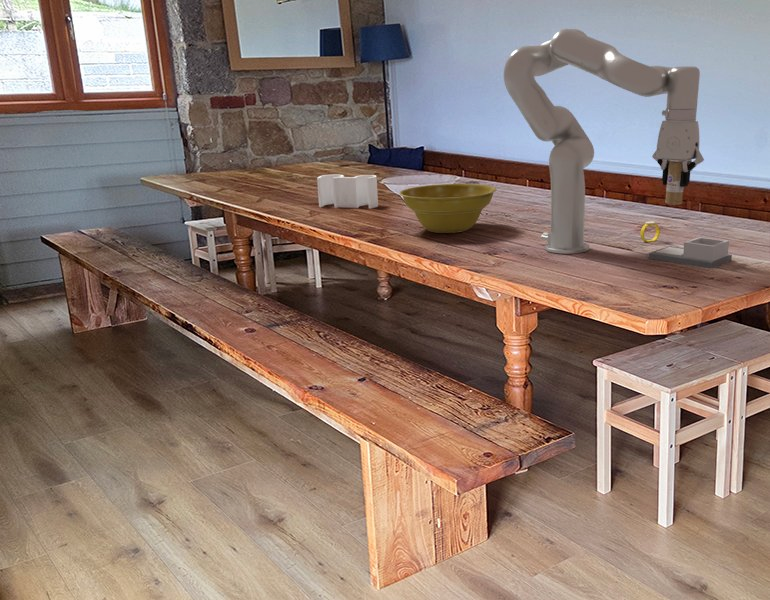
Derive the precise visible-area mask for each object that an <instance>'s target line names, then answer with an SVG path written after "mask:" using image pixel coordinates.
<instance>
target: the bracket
mask: <svg viewBox="0 0 770 600" xmlns="http://www.w3.org/2000/svg"><path fill="white" fill-rule="evenodd" d="M316 181H317V182H316V183H317V195H318V207H319V208H323V207H324V206H327V205H333V206H334V209H338V208H350V209H351V208H352V209H353V208H354V209H358V208H359V207H361V206H368V209H374V208H377V207H379V197H378V196H379V195H378V177H377V175H375V174H361V175H356V176H345V175H343V174H337V173H336V174H323V175H319V176H318V177H317V178H316Z"/></svg>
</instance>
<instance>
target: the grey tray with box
mask: <svg viewBox="0 0 770 600" xmlns="http://www.w3.org/2000/svg"><path fill="white" fill-rule="evenodd" d="M729 244H730V241H729V240H726V239H719V238H717V239H716V238H711V237H702V236H699V237H696V238H693V239H690V240H687V241H684V242H683V247H679V246H672V245H668V246H665V247H663V248H660V249H657V250H654V251H651V252H648V258H647V259H650V260H655V261H661V262H667V263H668V262H669V263H675V264H681V265H687V266H694V267H699V268H707V269H714V268H715V267H718V266H720V265H723V264H726V263H728V262H731V261H732V259H733V258H732V257H733V255H732V254H730V253H729Z"/></svg>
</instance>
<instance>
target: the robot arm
mask: <svg viewBox="0 0 770 600" xmlns="http://www.w3.org/2000/svg"><path fill="white" fill-rule="evenodd" d="M568 65H570V66H572V67H574V68H577V69H578V70H579V69H580V70H582V71H584V72H586V73H589V74H591V75H593V76H596V77H598V78H600V79H602V80H603V81H606V82H608V83H610V84H612V85H614V86H616V87H618V88H619V89H620V88H621V89H623V90H626V91H627V92H630V93H632V94H635V95H638V96H641V97H645V98H647V97H648V98H650V97H653V96H659V95H665V94H666V95H667V97H666V107H665V110H662V111H661V116H664V118H665V120H662V122H661V124H660V126H659V127H660V128H659V132H658V136H657V143H656V149H655V152H654V153H653V154H652V159H653V160H655V162H657V164H658V165H659V166H660V169H661V171H662V176H661V177H662V178H661V180H662V186H667V179H668V168H669V160H681V161H682V164H683V172H681V179H680V186H681V187H684V188H685V187H688V186H689V184H690V179H691V171H693V170H694V169H695V168H696V167H697V166H698V165H700V164H701V163H703V162H704V161H705V159H704V157H703V155H702V153H701V151H700V126H699V122H698V120H697V110H698V109H697V108H698V99H699V87H700V77H701V73H700V69H699V68H698V67H696V66H675V67H670V66H661V65H652V66H651V65H650V66H649V65H647V64H644V63H642V62H640V61H636V60H635V59H632V58H630V57H628V56H625V55H623V54H622V53H620V52H619V50H617V48H616V47H614V46H613V45H611V44H609V43H606V42H604V41H600V40H598V39H596V38H593V37H591V36H589V35H587V34H586V33H585V32H584V31H582V30H580V29H577V28H564V29H560V30H558V31H557V32H556V33H555V34H554V35H553V36H552V38H551V40H548V41H545V42H543V43H541V44H538V45H525V46H521V47H518V48H517V49H515V50H513V51H512V52H511V54H509V56H508V57H507V60H506V62H505V65H504V69H503V82H504V85H505V88H506V90H507V93H508V95H509V96H510V97H511V100H512V101H513V102H514V104H515V106H517V108H518V110H519V111H520V113H521V115H522V116H523V119H525V122H526V123H527V124H528V127H529V128H530V129H531V130H532V132H533V134H534V135H535V136H536V138H537V139H538V140H539V141H541V142H546V143H547V142H552V144H553V148H552V149H551V151H550V153H549V155H548V156H549V157H548V167H549V168H548V169H549V176H550V232H547V231H544V232H543V233H542V235H541V236H540V239H541V240H544V241H547V243H546V244H545V247H544V249H545V251H547V252H549V253H553V254H554V253H555V254H566V255H567V254H568V255H571V254H573V255H574V254H579V253H581V254H582V253H585V252H588V251H589V250H590V245H589V244H588V243H586V242H585V213H586V212H585V211H586V210H585V209H586V208H585V207H586V205H585V203H586V183H585V182H586V181H585V173H584V169H585V168H586V167H588V166H590V165H591V162H593V160H594V158H595V148H594V145H593V144H592V143H593V142H592V141H591V139H590V137H589V136H588V135H587V133H586V132H585V130H584V129H583V128H582V127H583V126H581V124H580V123H579V120H577V118H576V117H575V115H574V113H572V112H571V111H570V110H569V109H567V108H566V107H564V106H561V105H555V104H553V103H552V101H551V99H550V98H549V97H548V94H547V93H546V92H545V90H544V89H543V87H542V86H540V85H539V83H538V82H537V81H536V78H535V77H541V76H545V75H547V74H549V73H551V72H554V71H556V70H558V69H561V68H563V67H565V66H568ZM668 159H669V160H668Z"/></svg>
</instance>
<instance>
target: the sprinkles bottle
mask: <svg viewBox="0 0 770 600" xmlns="http://www.w3.org/2000/svg"><path fill="white" fill-rule="evenodd" d="M668 160H669V159H668ZM681 172H683V164H682V161H681V160H669V168H668V179H667V185H666V188H665V191H666V192H665V201H664V202H665V204H666V205H672V206H679V205H683V203H684V202H683V196H684V189H685V187H681V186H680V179H681Z"/></svg>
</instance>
